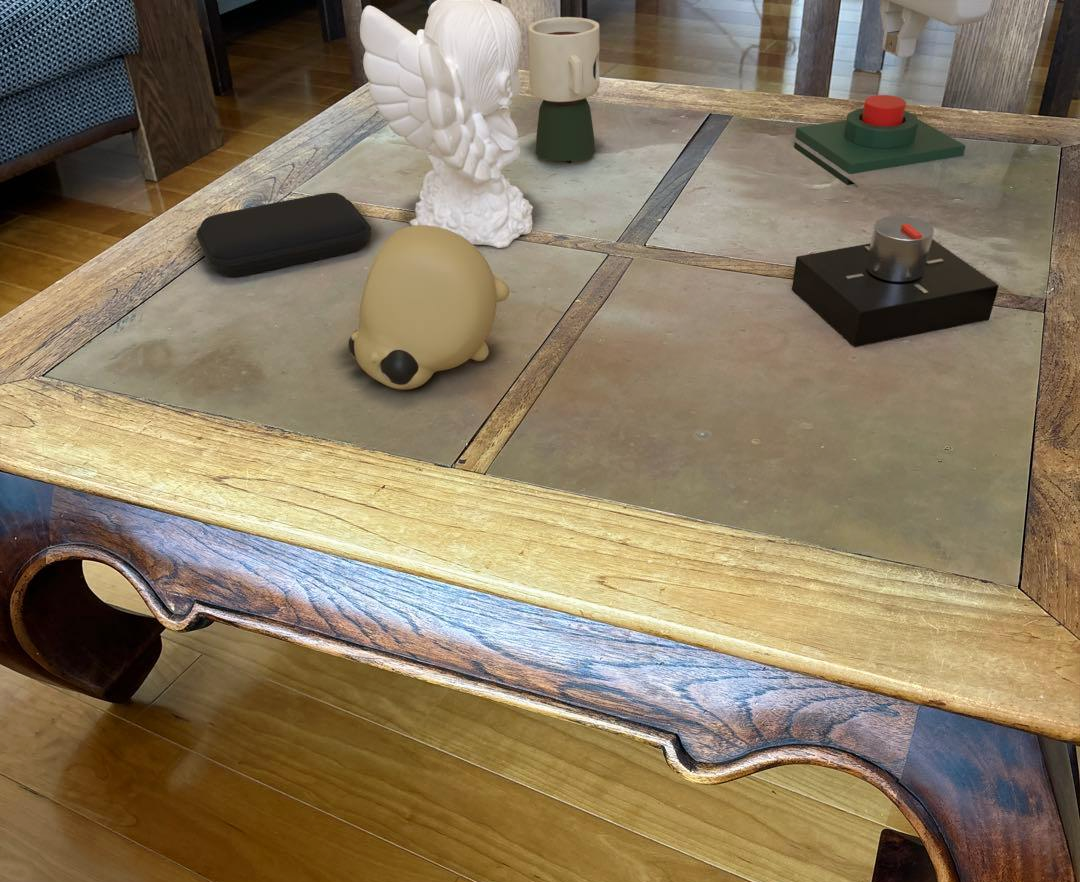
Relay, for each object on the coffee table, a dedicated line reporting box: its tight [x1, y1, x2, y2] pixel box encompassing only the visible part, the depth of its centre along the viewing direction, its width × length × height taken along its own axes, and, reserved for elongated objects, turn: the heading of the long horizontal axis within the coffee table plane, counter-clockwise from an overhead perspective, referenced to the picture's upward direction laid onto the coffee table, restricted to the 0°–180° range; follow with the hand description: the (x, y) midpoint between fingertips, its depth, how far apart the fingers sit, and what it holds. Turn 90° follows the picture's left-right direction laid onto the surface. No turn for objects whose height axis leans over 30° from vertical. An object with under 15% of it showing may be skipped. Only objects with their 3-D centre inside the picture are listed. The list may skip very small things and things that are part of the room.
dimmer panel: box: [791, 238, 1000, 348], centre depth 82 cm, size 12×10×3 cm
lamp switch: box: [793, 107, 966, 186], centre depth 105 cm, size 13×11×4 cm
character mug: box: [527, 16, 601, 164], centre depth 105 cm, size 11×7×13 cm, turn 14°
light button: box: [862, 94, 907, 126], centre depth 103 cm, size 4×4×2 cm
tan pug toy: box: [348, 225, 510, 390], centre depth 75 cm, size 10×12×11 cm
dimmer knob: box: [866, 215, 935, 282], centre depth 80 cm, size 4×4×4 cm
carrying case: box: [195, 192, 373, 277], centre depth 93 cm, size 11×3×15 cm
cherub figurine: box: [359, 0, 534, 249], centre depth 89 cm, size 13×12×20 cm
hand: (897, 53), depth 100 cm, fingers closed
